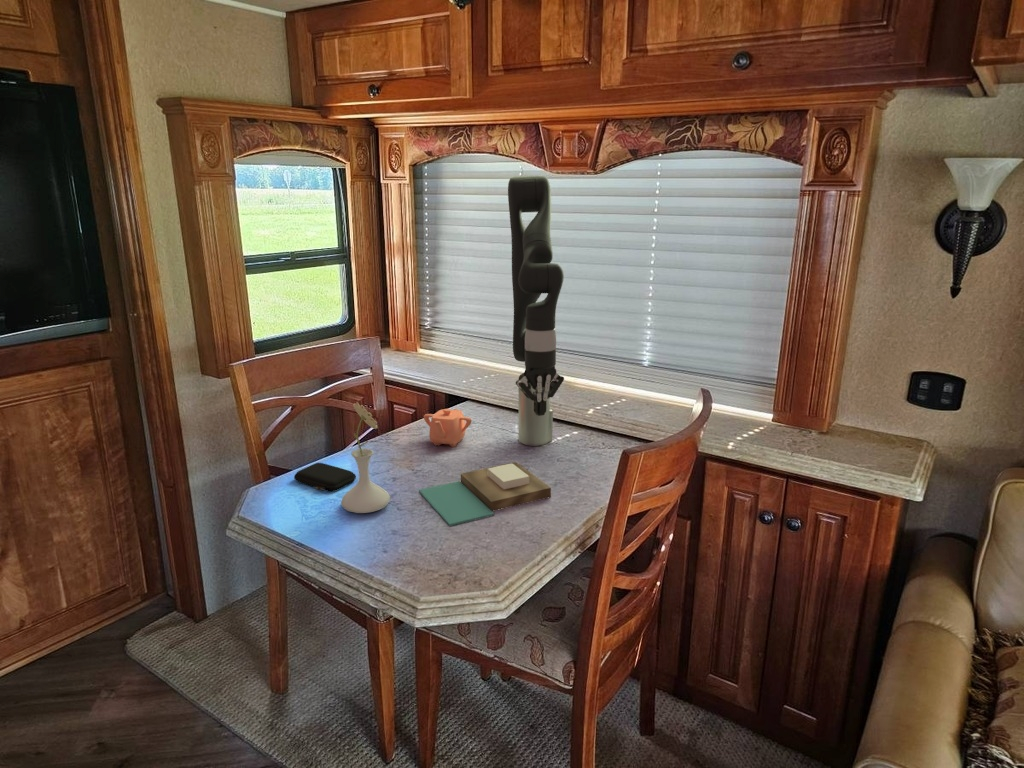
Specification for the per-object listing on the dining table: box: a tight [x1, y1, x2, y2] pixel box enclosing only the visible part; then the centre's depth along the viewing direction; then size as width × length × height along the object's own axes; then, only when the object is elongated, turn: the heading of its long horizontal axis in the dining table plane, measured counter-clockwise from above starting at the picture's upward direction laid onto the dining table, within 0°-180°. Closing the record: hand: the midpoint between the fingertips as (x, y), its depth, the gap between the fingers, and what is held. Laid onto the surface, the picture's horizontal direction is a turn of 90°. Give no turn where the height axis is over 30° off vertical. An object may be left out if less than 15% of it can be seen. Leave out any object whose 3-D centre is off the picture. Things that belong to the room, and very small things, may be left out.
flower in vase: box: [340, 401, 391, 514], centre depth 159 cm, size 13×11×25 cm
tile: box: [487, 463, 529, 489], centre depth 170 cm, size 7×9×2 cm
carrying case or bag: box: [293, 462, 357, 493], centre depth 175 cm, size 11×3×15 cm
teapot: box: [423, 408, 473, 448], centre depth 200 cm, size 14×12×10 cm
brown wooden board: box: [460, 461, 552, 512], centre depth 170 cm, size 16×18×2 cm
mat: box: [418, 480, 495, 527], centre depth 163 cm, size 11×20×1 cm, turn 27°
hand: (539, 414), depth 169 cm, fingers closed
